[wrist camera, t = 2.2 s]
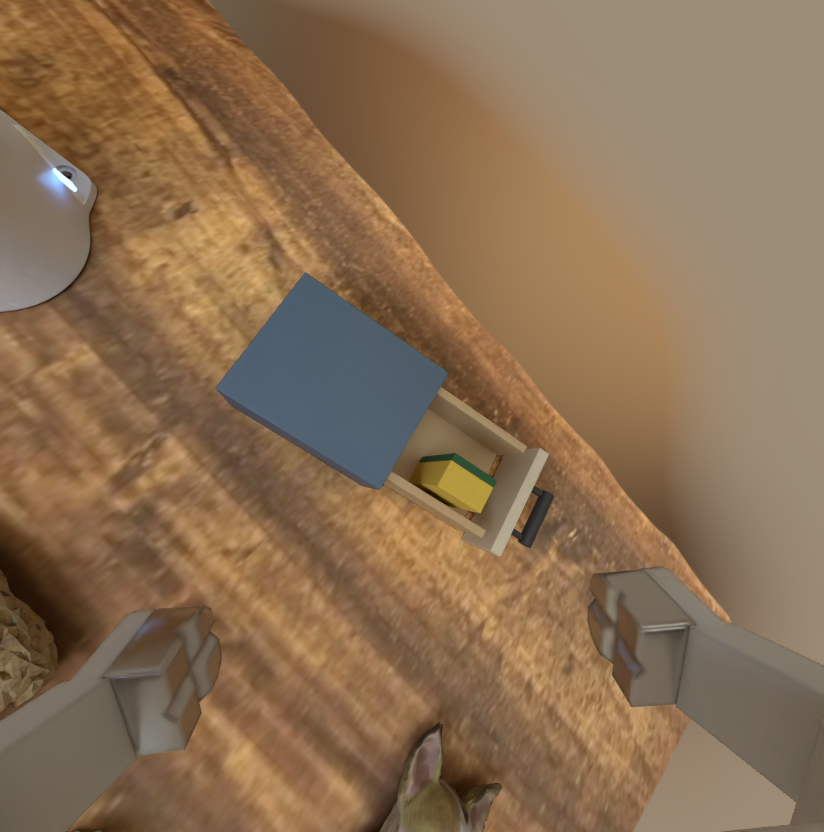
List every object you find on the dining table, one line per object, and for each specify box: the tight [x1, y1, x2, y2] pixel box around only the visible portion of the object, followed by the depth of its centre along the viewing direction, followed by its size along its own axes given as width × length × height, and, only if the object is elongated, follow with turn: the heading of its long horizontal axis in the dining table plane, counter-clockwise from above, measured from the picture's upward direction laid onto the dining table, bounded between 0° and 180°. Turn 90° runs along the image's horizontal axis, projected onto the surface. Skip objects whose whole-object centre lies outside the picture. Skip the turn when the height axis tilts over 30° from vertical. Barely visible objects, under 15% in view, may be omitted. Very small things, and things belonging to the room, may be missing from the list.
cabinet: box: [216, 273, 449, 490], centre depth 38 cm, size 15×12×8 cm
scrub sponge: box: [408, 453, 497, 513], centre depth 38 cm, size 4×3×9 cm
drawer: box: [384, 387, 554, 557], centre depth 41 cm, size 19×11×7 cm, turn 60°
